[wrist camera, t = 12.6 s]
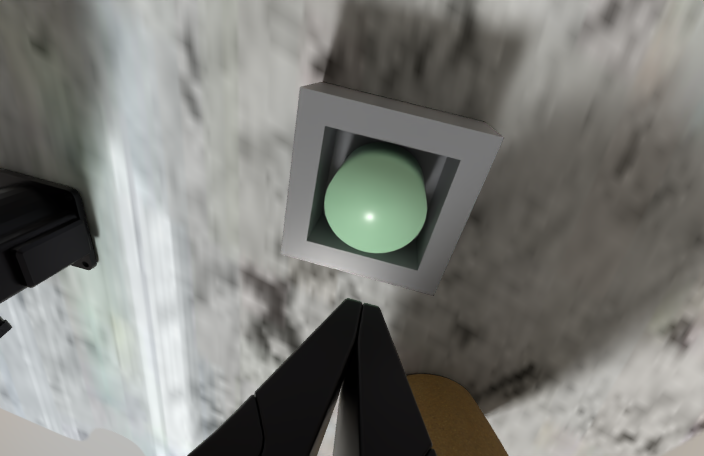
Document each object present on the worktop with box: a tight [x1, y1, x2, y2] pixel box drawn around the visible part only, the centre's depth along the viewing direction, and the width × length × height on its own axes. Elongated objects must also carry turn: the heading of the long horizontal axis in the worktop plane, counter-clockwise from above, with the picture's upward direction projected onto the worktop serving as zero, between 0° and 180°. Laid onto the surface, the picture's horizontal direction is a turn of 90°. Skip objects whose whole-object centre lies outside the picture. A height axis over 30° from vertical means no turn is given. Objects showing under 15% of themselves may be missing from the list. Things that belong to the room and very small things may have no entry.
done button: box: [324, 142, 427, 253], centre depth 15 cm, size 4×4×3 cm
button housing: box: [281, 82, 504, 296], centre depth 16 cm, size 8×8×4 cm
